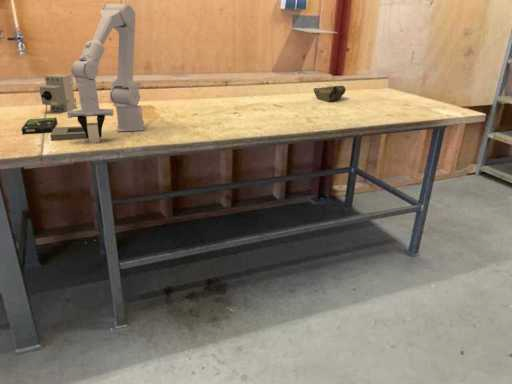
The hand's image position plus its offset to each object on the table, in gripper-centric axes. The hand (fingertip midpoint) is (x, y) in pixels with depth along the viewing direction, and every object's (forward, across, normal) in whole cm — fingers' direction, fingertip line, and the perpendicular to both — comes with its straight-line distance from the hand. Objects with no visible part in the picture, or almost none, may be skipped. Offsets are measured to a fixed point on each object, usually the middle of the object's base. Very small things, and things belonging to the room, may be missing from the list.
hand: (94, 136), depth 145 cm
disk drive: (+2, -21, +21) cm, 30 cm away
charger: (+1, 0, 0) cm, 1 cm away
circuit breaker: (+2, -18, +50) cm, 53 cm away
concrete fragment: (+2, +115, +51) cm, 126 cm away
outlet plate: (+1, -6, +8) cm, 11 cm away
